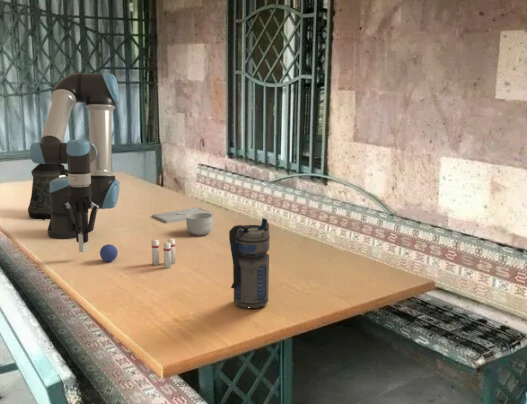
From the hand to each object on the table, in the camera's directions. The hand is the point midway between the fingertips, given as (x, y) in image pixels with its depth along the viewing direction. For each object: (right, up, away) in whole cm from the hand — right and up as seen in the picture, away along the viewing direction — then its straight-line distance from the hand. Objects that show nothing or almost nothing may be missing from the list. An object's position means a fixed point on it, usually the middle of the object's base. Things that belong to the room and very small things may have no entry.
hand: (82, 251), depth 216 cm
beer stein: (-33, +11, +63) cm, 72 cm away
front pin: (+26, -4, -3) cm, 27 cm away
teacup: (+37, +4, +38) cm, 54 cm away
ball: (+9, -1, -1) cm, 9 cm away
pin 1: (+31, -5, -6) cm, 32 cm away
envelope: (+27, +10, +65) cm, 71 cm away
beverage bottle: (+59, -13, -37) cm, 71 cm away
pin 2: (+31, -4, -1) cm, 32 cm away
